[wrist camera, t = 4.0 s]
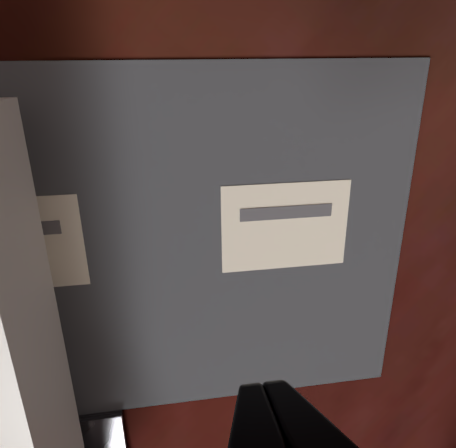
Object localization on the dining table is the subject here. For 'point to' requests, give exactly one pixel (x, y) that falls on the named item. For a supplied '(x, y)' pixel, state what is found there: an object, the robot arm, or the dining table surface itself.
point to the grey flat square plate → (103, 430)
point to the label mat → (219, 217)
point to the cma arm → (29, 311)
